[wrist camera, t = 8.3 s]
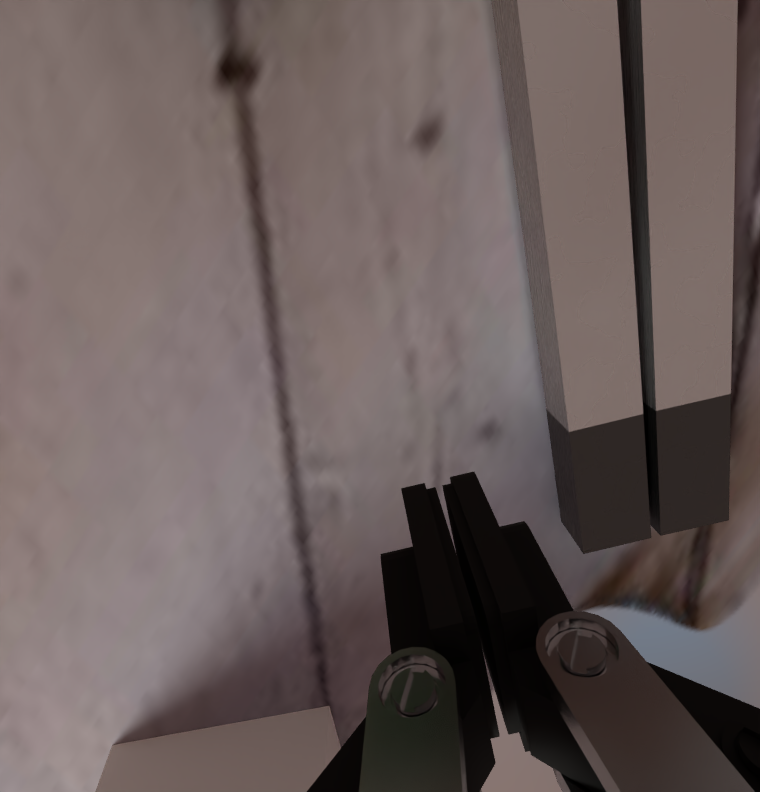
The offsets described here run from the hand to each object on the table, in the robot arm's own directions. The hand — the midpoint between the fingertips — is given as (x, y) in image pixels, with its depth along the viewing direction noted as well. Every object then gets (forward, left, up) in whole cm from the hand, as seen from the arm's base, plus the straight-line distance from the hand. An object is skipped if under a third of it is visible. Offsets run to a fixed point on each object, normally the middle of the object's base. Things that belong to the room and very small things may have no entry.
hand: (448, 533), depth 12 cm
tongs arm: (-4, +8, -11) cm, 14 cm away
